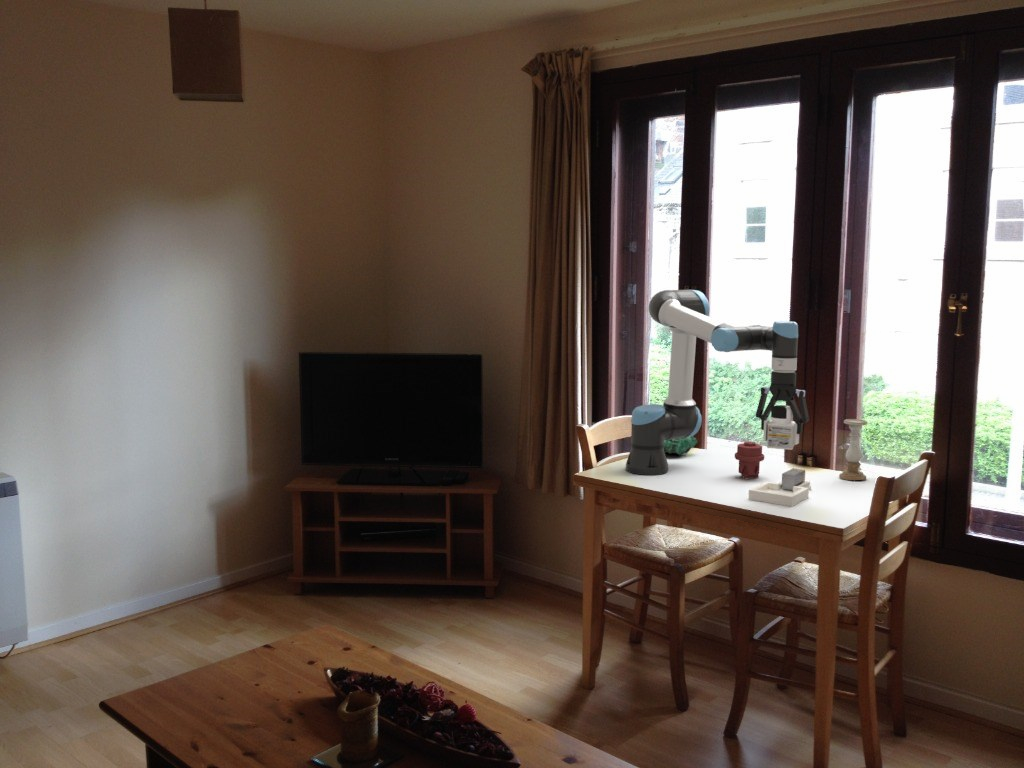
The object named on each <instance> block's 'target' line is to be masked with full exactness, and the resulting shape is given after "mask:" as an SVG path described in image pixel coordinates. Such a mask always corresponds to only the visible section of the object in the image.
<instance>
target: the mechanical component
mask: <svg viewBox="0 0 1024 768" xmlns="http://www.w3.org/2000/svg"><path fill="white" fill-rule="evenodd" d="M736 449H737V452H735V453H734V459H735V460H737V461H738V473H739V474H740V475H741V476H742V478H743V479H744V480H749V479H759V474H760V462H763V461H764V460H765V455H764V453H763V446H762V444H758V443H756V442H754V441H744V443H738V444H737V448H736Z"/></svg>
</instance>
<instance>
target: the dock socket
mask: <svg viewBox="0 0 1024 768" xmlns="http://www.w3.org/2000/svg"><path fill="white" fill-rule="evenodd" d="M810 482H811V481H806V480H805V482H804V483H802V484H800V485H798V486H794V487H793V490H787V489H782V481H780V482H771V481H764V482H763V483H762V482H761V483H760V484H758V485H756V486H754V487H752V488H750V489H749V490H748V500H751V501H756V502H757V501H758V502H764V503H768V504H769V503H770V504H776V505H782V506H787V507H793V506H795V505H797V504H799V503H801V502H802V501H804V500H806V499H807V498H809V491H810V490H811V489H812V485H811V483H810Z"/></svg>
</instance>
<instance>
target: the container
mask: <svg viewBox="0 0 1024 768" xmlns="http://www.w3.org/2000/svg"><path fill="white" fill-rule="evenodd" d="M770 419H771V420H770ZM770 419H769V420H770V422H769V424H768V435H767V441H766V444H767V445H766V448H767V449H776V450H777V449H778V450H789V451H790V450H791V451H792V450H794V447H795V445H793V440H794V424H795V423H796V421H794V415H793V413H792V411H791V408H790V406H789V405H782V404H781V405H779V404H778V405H776V404H775V405H774V406H773V407H772V408H771V413H770Z"/></svg>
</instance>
